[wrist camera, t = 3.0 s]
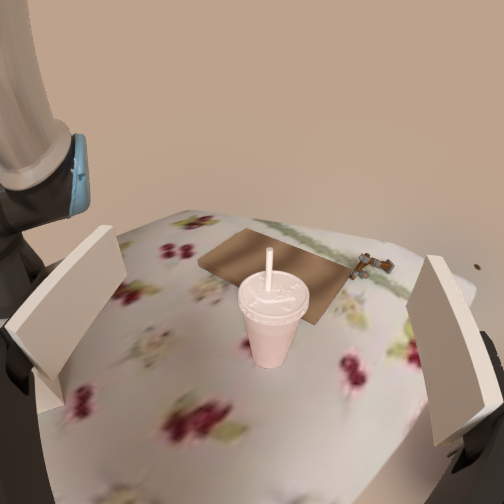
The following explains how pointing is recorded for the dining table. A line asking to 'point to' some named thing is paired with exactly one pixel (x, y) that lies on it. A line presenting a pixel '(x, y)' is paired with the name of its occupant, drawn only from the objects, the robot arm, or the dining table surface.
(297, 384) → the dining table surface
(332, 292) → the walnut board
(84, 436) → the dining table surface
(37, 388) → the off-white cube
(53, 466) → the dining table surface
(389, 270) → the wooden post with brackets
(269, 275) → the smoothie
